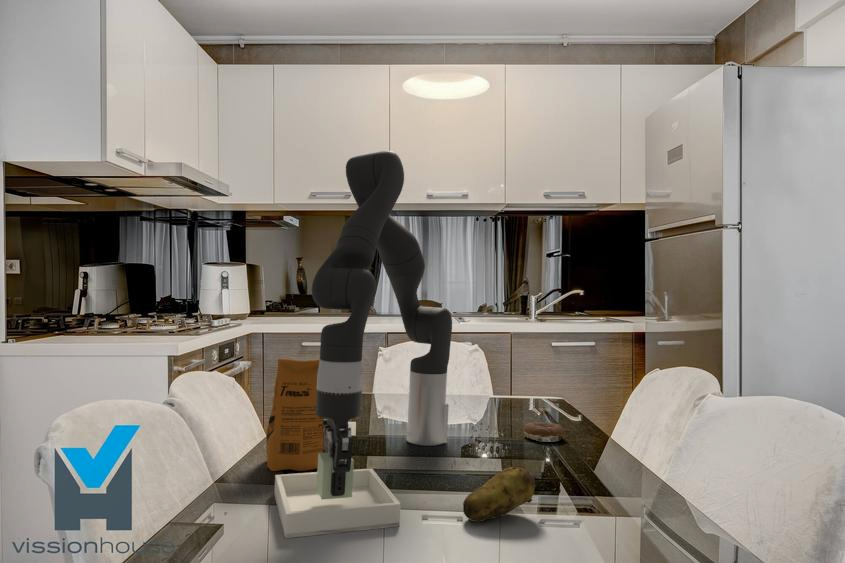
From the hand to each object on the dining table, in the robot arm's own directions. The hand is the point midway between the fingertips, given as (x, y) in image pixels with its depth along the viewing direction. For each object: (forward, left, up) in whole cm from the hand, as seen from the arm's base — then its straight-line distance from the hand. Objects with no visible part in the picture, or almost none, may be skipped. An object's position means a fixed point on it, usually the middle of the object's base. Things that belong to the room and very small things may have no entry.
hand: (334, 488), depth 93 cm
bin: (0, 0, -3) cm, 3 cm away
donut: (-62, -34, -4) cm, 71 cm away
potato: (-26, +9, -4) cm, 28 cm away
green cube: (0, 0, -1) cm, 1 cm away
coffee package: (+3, -25, -4) cm, 25 cm away
